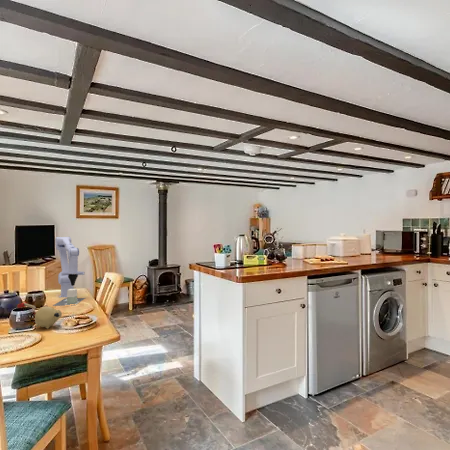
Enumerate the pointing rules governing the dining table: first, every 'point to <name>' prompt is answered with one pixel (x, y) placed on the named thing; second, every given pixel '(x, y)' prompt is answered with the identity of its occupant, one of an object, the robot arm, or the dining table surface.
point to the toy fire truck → (25, 305)
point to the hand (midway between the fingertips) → (73, 285)
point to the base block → (71, 300)
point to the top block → (71, 292)
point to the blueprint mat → (64, 302)
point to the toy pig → (47, 317)
